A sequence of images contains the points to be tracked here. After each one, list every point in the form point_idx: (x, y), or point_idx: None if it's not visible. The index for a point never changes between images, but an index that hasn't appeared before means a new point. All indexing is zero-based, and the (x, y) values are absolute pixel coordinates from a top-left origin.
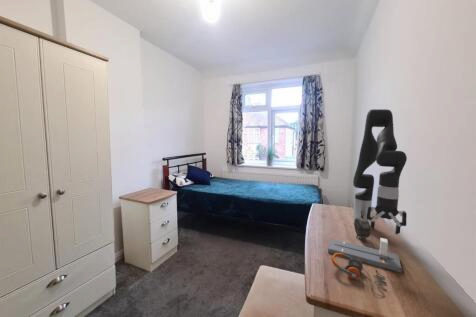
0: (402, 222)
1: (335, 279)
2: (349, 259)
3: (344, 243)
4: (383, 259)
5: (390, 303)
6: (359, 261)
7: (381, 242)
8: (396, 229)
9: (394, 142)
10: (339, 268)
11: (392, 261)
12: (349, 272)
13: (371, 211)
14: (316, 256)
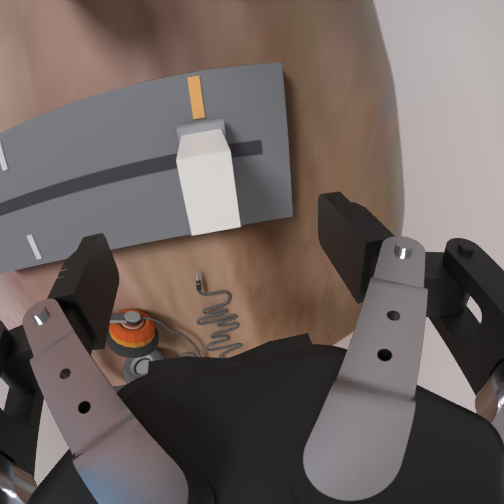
0: (448, 300)
1: (119, 380)
2: None
3: (5, 162)
4: None
5: None
6: (144, 353)
7: (196, 230)
8: (341, 277)
9: None
10: (115, 389)
11: (255, 177)
12: None
13: (23, 470)
14: (11, 316)
